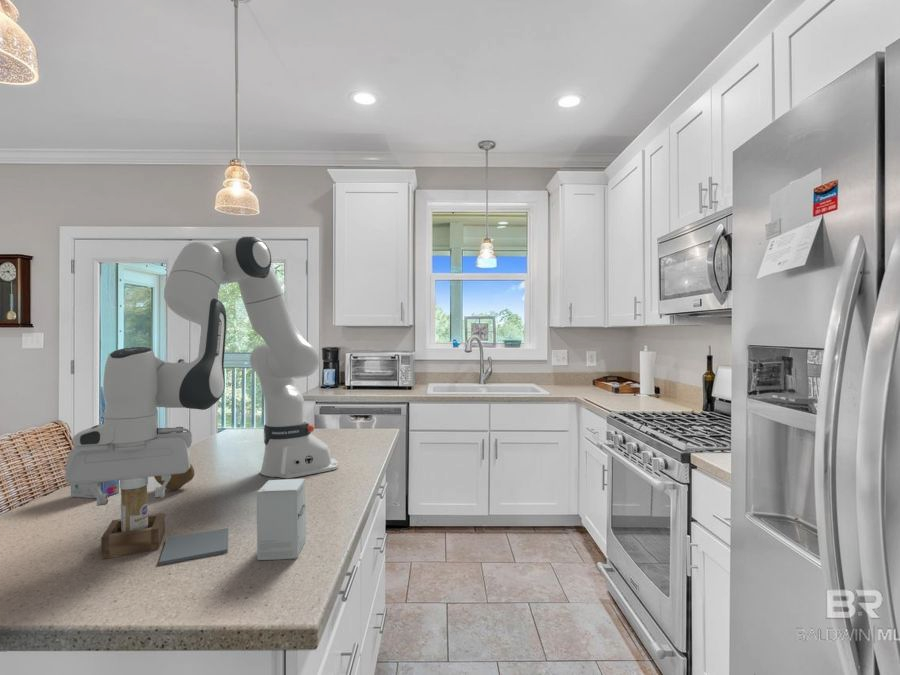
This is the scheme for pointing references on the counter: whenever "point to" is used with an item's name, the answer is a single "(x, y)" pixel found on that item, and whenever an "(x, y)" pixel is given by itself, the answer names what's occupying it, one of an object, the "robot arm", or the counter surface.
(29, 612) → the counter surface
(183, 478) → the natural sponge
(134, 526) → the sprinkles bottle
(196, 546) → the rubber mat
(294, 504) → the supplement box
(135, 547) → the walnut holder
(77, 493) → the ink cartridge box
